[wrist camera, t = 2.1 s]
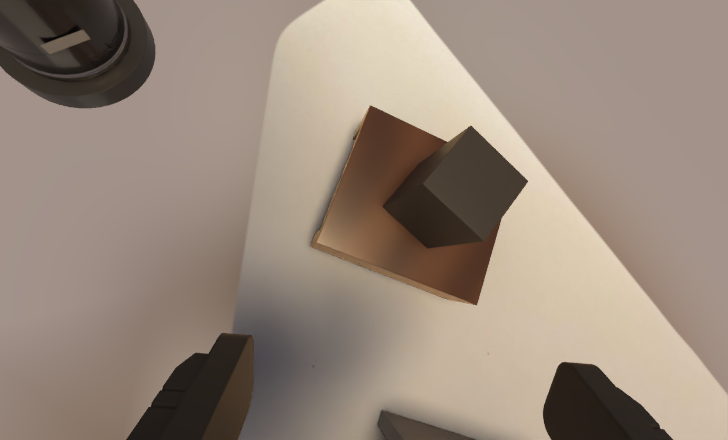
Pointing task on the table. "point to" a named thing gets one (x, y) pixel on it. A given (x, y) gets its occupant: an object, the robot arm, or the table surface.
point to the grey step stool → (412, 429)
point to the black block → (456, 193)
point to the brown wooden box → (380, 229)
